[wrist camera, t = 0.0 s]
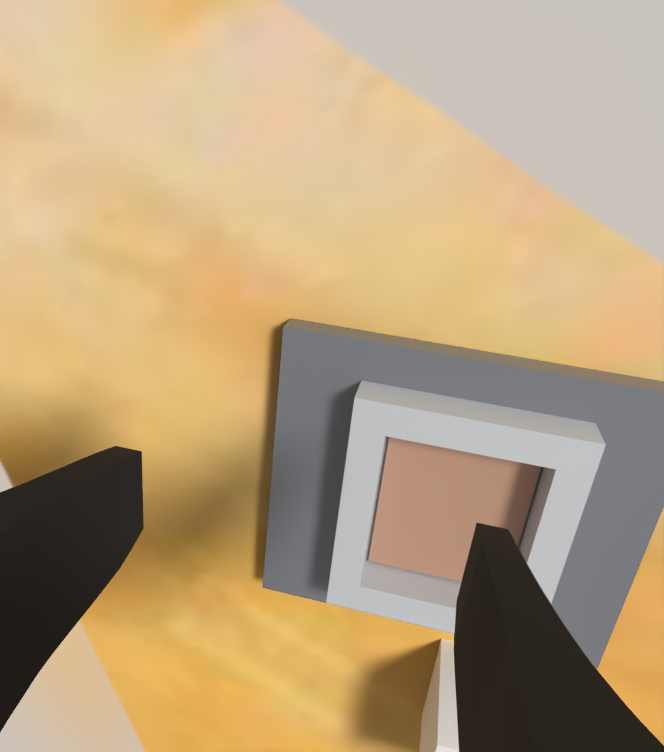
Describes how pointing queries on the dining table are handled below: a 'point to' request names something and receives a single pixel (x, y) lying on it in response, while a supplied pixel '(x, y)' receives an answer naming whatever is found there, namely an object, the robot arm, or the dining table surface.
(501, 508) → the socket dock
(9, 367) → the dining table surface
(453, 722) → the plug
